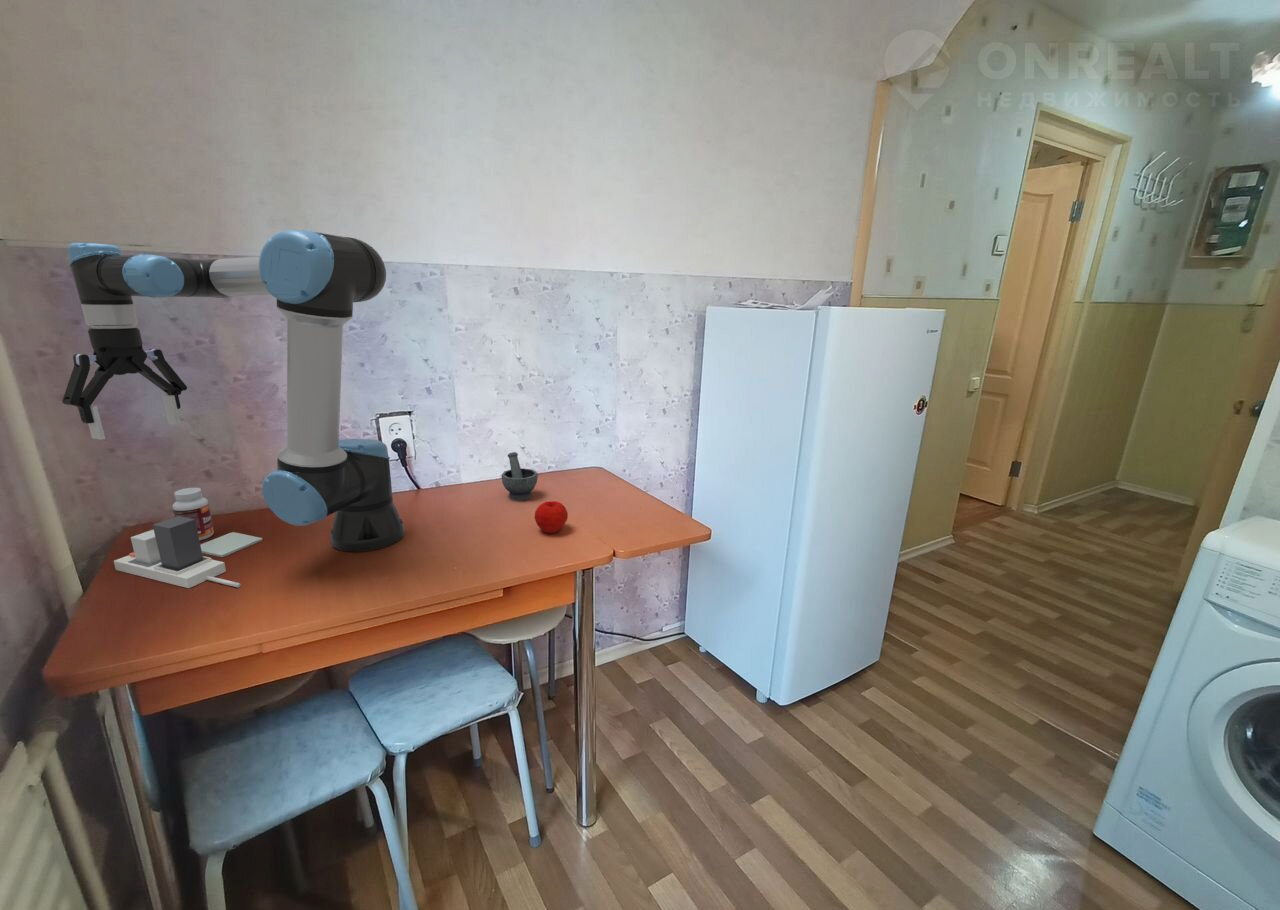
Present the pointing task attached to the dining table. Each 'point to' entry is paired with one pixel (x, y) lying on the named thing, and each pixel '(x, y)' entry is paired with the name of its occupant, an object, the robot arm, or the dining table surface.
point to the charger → (178, 543)
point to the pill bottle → (194, 510)
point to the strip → (150, 566)
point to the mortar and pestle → (519, 479)
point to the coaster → (228, 544)
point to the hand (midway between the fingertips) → (138, 431)
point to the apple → (551, 516)
